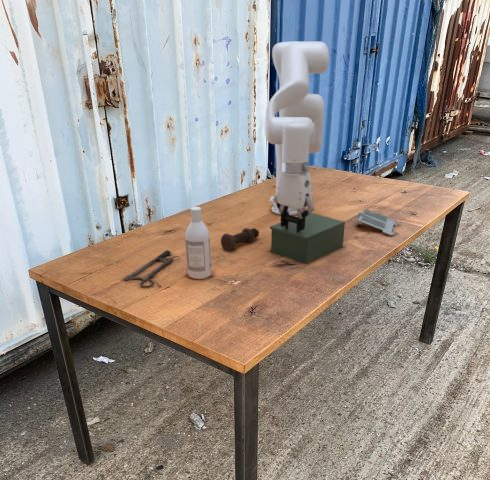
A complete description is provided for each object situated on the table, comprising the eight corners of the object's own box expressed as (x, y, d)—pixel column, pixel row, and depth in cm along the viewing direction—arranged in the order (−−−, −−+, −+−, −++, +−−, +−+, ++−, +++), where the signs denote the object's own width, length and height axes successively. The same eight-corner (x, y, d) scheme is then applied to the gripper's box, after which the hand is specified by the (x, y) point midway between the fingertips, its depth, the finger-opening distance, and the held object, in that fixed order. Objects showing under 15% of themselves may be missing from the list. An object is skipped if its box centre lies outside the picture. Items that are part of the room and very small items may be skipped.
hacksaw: (166, 253, 163) (166, 248, 162) (194, 258, 159) (193, 253, 158) (119, 282, 144) (118, 277, 144) (148, 288, 140) (148, 283, 140)
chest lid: (306, 240, 149) (307, 223, 147) (269, 228, 158) (270, 212, 156) (344, 224, 162) (346, 208, 159) (308, 214, 171) (309, 199, 168)
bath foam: (199, 267, 152) (195, 202, 142) (216, 273, 148) (213, 207, 138) (183, 275, 148) (177, 208, 138) (199, 281, 144) (195, 213, 134)
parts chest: (306, 264, 154) (308, 239, 150) (271, 251, 163) (271, 228, 159) (342, 247, 166) (344, 224, 162) (307, 236, 174) (308, 214, 171)
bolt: (257, 243, 174) (228, 254, 164) (248, 233, 175) (218, 244, 166) (264, 231, 170) (234, 241, 160) (255, 221, 171) (224, 231, 162)
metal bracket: (357, 216, 174) (362, 204, 186) (350, 231, 177) (356, 218, 190) (396, 231, 172) (399, 218, 184) (389, 246, 175) (393, 232, 188)
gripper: (326, 170, 142) (322, 231, 152) (280, 161, 153) (279, 218, 162) (310, 174, 138) (307, 237, 147) (263, 165, 148) (263, 224, 157)
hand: (292, 227), depth 154 cm, fingers closed on chest lid, 5 cm apart
